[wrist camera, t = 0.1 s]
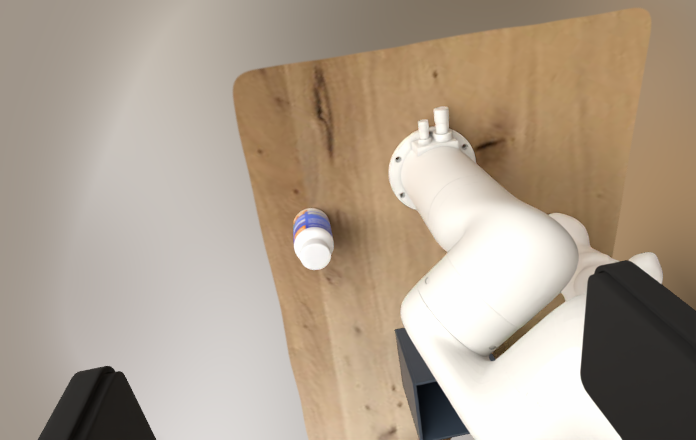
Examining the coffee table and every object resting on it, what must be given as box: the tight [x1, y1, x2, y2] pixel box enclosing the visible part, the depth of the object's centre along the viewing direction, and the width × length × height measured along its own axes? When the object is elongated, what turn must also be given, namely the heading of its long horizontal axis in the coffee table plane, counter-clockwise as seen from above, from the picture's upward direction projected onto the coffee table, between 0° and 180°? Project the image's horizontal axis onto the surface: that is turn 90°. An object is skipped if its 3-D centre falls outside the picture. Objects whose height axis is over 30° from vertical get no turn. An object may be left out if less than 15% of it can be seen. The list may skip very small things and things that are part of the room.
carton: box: [395, 328, 495, 440], centre depth 78 cm, size 13×13×12 cm
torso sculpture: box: [549, 213, 663, 301], centre depth 66 cm, size 18×10×25 cm, turn 4°
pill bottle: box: [293, 208, 334, 270], centre depth 66 cm, size 5×5×10 cm
